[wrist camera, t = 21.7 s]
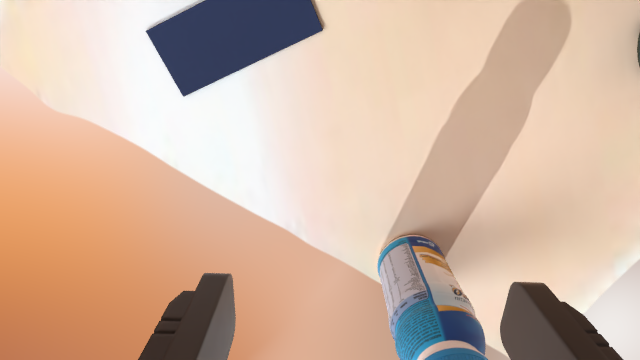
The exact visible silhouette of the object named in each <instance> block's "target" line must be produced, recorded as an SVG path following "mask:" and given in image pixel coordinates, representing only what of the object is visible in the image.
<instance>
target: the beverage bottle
mask: <svg viewBox="0 0 640 360" xmlns="http://www.w3.org/2000/svg"><path fill="white" fill-rule="evenodd" d="M378 273H379V276H380V280H381V283H382V288H383V292H384V296H385V301H386V306H387V310H388V314H389V326H390V331H391V334H392V336H393V338H394V340H395V346H396V351H397V354H398V356H399V358H400V360H488V359H487V358H486V357H485V356H484V355H485V337H484V332H483V329H482V326H481V324H480V323H479V321H478V320H477V318H476V317H475V312H474V309H473V307H472V305H471V303H470V301H469V299H468V298H467V297H466V295H465V294H464V293H463V292H462V290H461V288H460V286H459V284H458V282H457V281H456V279H455V277H454V275H453V273H452V271H451V270H450V268H449V266H448V264H447V262H446V260H445V258H444V255H443V253H442V251H441V250H440V248H439V247H438V245H437V244H436V243H434V242H433V241H432V240H430V239H428V238H426V237H423V236H419V235H406V236H402V237H399V238H397V239H395V240H393V241H391V242H390V243H389V244H387V245H386V246H385V248H384V249H383V250H382V252H381V253H380V256H379V259H378Z"/></svg>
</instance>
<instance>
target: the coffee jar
mask: <svg viewBox="0 0 640 360" xmlns="http://www.w3.org/2000/svg"><path fill="white" fill-rule="evenodd" d="M637 53H638V62H639V66H640V34H639V38H638V47H637Z"/></svg>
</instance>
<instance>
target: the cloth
mask: <svg viewBox="0 0 640 360" xmlns="http://www.w3.org/2000/svg"><path fill="white" fill-rule="evenodd" d="M322 30H323V29H322V27H321V24H320V22H319V19H318V17H317V15H316V12H315V10H314V7H313V5H312V2H311V0H205V1H203V2H201V3H199V4H198V5H196V6H194V7H192V8H190V9H188V10H186V11H184V12H182V13H180V14H178V15H176V16H174V17H172V18H170V19H168V20H166V21H165V22H163V23H161V24H159V25H157V26H155V27H153V28H151V29H149V30H147V31H146V32H147V34H148V36H149V37H150V39H151V41H152V43H153V44H154V46H155V48H156V50H157V51H158V53H159V55H160V57H161V58H162V60H163V62H164V64H165V65H166V67H167V69H168V71H169V72H170V74H171V76H172V78H173V79H174V81H175V83H176V85H177V86H178V88H179V90H180V92H181V93H182V95H183V96H186V95H188V94H190V93H192V92H194V91H196V90H198V89H200V88H202V87H204V86H207V85H209V84H211V83H213V82H215V81H217V80H219V79H221V78H223V77H225V76H228V75H230V74H232V73H234V72H236V71H238V70H240V69H242V68H244V67H246V66H249V65H251V64H253V63H255V62H257V61H259V60H261V59H263V58H265V57H268V56H270V55H272V54H274V53H276V52H278V51H280V50H282V49H284V48H286V47H289V46H291V45H293V44H295V43H297V42H299V41H301V40H303V39H305V38H307V37H310V36H312V35H314V34H316V33H318V32H320V31H322Z"/></svg>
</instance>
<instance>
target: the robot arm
mask: <svg viewBox="0 0 640 360" xmlns="http://www.w3.org/2000/svg"><path fill="white" fill-rule="evenodd" d="M234 331H235V304H234V291H233V279H232V275H231V274H220V273H216V274H215V273H204V275H203V276H202V278H201V280H200V282H199V284H198V286H197V288H196V290H195V291H183V292H182V293H181V294H180V295H178V296H177V297H176V298H175V299H174V300H173V301H171V302H170V303H169V305H168V307H167V308H166V310H165V312H164V314H163V316H162V317H161V321H159V323H158V325H157V326H156V328H155V330H154V334H152V335H151V337H150V339H149V341H148V343H147V345H146V346H145V348H144V350H143V352H142V353H141V356H140V357H139V359H138V360H227V358H228V355H229V351H230V348H231V344H232V341H233V337H234ZM500 334H501V340H502V343H503V346H504V348H505V350H506V352H507V353H508V355H509V357H510V359H511V360H623V359H622V358H621V357H620V356H619V354H618V353H617V352H616V351H615V350H614V349H613V348H612V347H609V343H608V342H607V341H606V340H605V339H604V338H603V336H602V335H601V334H598V333H597V330H596V329H595V327H594V326H593V325H592V324H591V323H590V322H589V321H588V320H587V318H586V317H585V316H584V315H583V314H581V313H580V312H578V311H577V310H575V309H574V308H573V307H571V306H570V305H568V304H567V303H565V302H560V301H559V300H558V298H557V297H556V296H555V295H554V294H553V293H552V291H551V290H550V289H549V288H548V287H547V286H546V285H545V284H544V283H531V282H514V283H513V284H512V285H511V287H510V290H509V293H508V297H507V301H506V305H505V309H504V313H503V317H502V320H501V325H500Z"/></svg>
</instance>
